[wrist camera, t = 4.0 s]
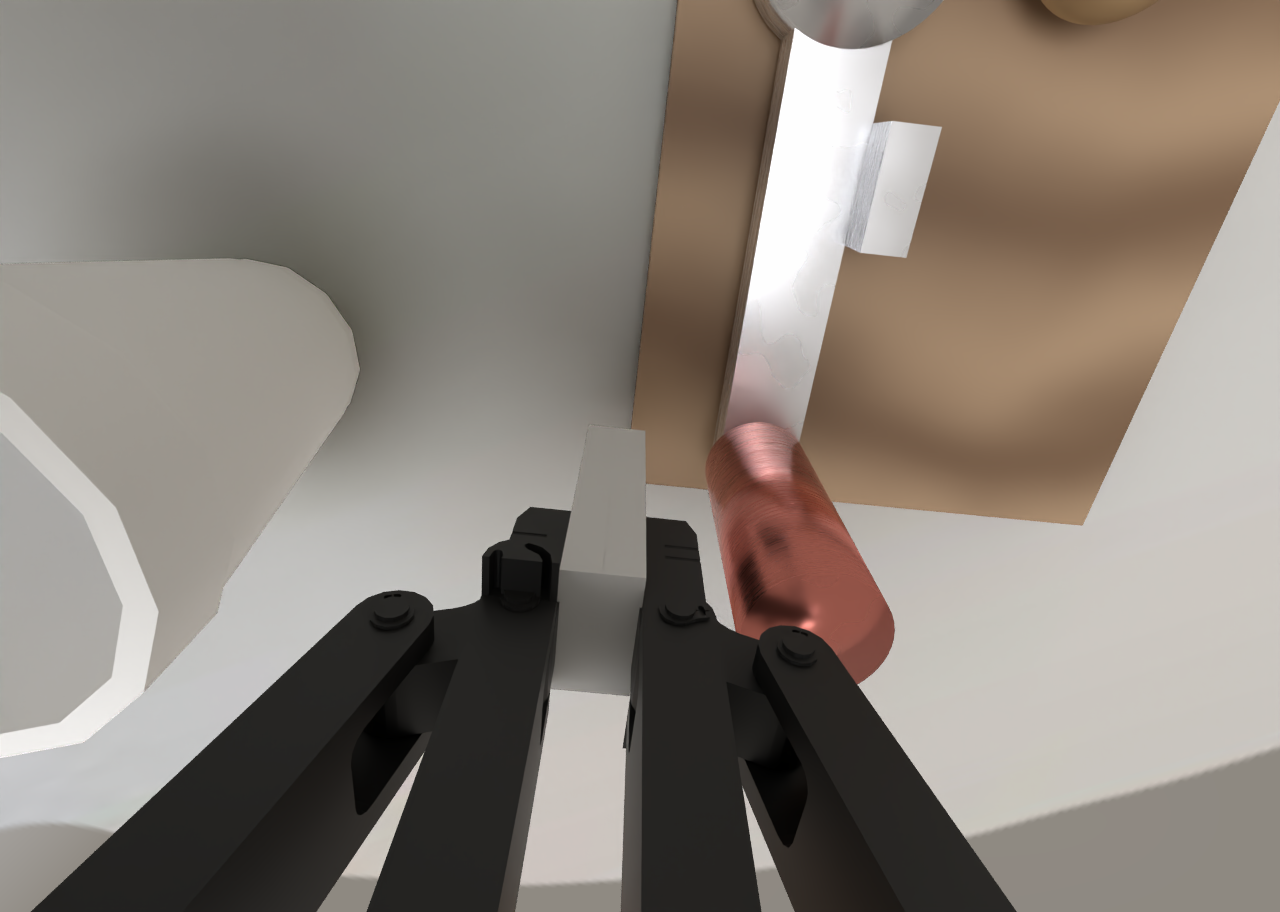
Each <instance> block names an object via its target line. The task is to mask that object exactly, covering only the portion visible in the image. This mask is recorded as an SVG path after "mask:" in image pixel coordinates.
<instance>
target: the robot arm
mask: <svg viewBox="0 0 1280 912" xmlns="http://www.w3.org/2000/svg"><path fill="white" fill-rule="evenodd" d="M550 688H551V689H557V690H568V691H579V692H590V693H601V694H612V695H623V696H629V695H630V702H629V709H628V716H627V722H626V729H625V736H624V743H623V748H626V768H625V799H624V830H623V861H622V893H621V912H761V906H760V900H759V893H758V887H757V880H756V873H755V867H754V860H753V854H752V847H751V841H750V834H749V828H748V821H747V815H746V808H745V802H744V795H743V789H744V791H745V793H746V796H747V798H748V801H749V803H750V805H751V808H752V810H753V813H754V815H755V817H756V820H757V822H758V825H759V827H760V829H761V832H762V834H763V837H764V839H765V841H766V844H767V846H768V849H769V851H770V853H771V856H772V858H773V861H774V863H775V865H776V868H777V870H778V873H779V875H780V877H781V880H782V882H783V884H784V887H785V889H786V892H787V894H788V897H789V899H790V901H791V904H792V906H793V908H794V911H795V912H1016V910H1015V909H1014V907H1013V906H1012V905H1011V903H1010V902H1009V900H1008V899H1007V897H1006V896H1005V895H1004V893H1003V892H1002V890H1001V889H1000V887H999V886H998V885H997V883H996V882H995V881H994V879H993V878H992V876H991V875H990V873H989V872H988V870H987V869H986V867H985V866H984V865H983V863H982V862H981V860H980V859H979V857H978V856H977V855H976V853H975V852H974V850H973V849H972V848H971V846H970V845H969V843H968V842H967V840H966V839H965V837H964V836H963V835H962V833H961V832H960V830H959V829H958V828H957V826H956V825H955V823H954V822H953V820H952V819H951V818H950V816H949V815H948V813H947V812H946V810H945V809H944V808H943V806H942V805H941V803H940V802H939V800H938V799H937V798H936V796H935V795H934V793H933V792H932V790H931V789H930V788H929V786H928V785H927V783H926V782H925V781H924V779H923V778H922V776H921V775H920V773H919V772H918V771H917V769H916V768H915V766H914V765H913V763H912V762H911V761H910V759H909V758H908V756H907V755H906V753H905V752H904V751H903V749H902V748H901V746H900V745H899V743H898V742H897V741H896V739H895V738H894V736H893V735H892V733H891V732H890V731H889V729H888V728H887V726H886V725H885V724H884V722H883V721H882V719H881V718H880V716H879V715H878V714H877V712H876V711H875V709H874V708H873V706H872V705H871V704H870V702H869V701H868V699H867V698H866V696H865V695H864V694H863V692H862V691H861V689H860V688H859V686H858V685H857V684H856V682H855V681H854V679H853V678H852V677H851V675H850V674H849V672H848V671H847V669H846V668H845V667H844V665H843V664H842V662H841V661H840V659H839V658H838V657H837V655H836V654H835V652H834V651H833V649H832V648H831V647H830V646H829V645H828V644H827V643H826V642H825V641H824V640H823V639H822V638H821V637H819V636H817V635H816V634H814V633H812V632H810V631H809V630H805V629H802V628H799V627H796V626H786V625H779V626H775V627H770V628H768V629H767V630H765V631H764V632H763V633H762V634H761V635H760V638H759V640H758V639H755V638H752V637H749V636H745V635H742V634H740V633H737V632H735V631H732V630H730V629H728V628H727V627H725V626H723V625H722V624H720V623H719V622H718V621H717V619H716V616H715V613H714V611H713V609H712V607H711V606H710V605H708V604H707V603H706V599H705V592H704V584H703V577H702V570H701V563H700V556H699V551H698V542H697V535H696V533H695V532H694V531H693V530H692V528H691V527H690V526H689V525H688V523H687V522H686V521H678V520H668V519H659V518H649V517H646V455H645V431H643V430H634V429H625V428H616V427H606V426H597V425H589V427H588V431H587V436H586V441H585V446H584V451H583V456H582V461H581V466H580V471H579V476H578V481H577V486H576V491H575V496H574V500H573V505H572V510H571V511H565V510H555V509H545V508H535V507H530V508H529V509H527V510H526V511H525V512H524V513H523V514H521V515H520V516H519V517H518V518H517V520H516V523H515V526H514V528H513V532H512V534H511V537H510V540H506V541H502V542H499V543H497V544H495V545H493V546H491V547H489V548H488V549H487V551H486V552H485V553H484V554H483V556H482V596H481V598H480V600H478V601H476V602H475V603H472V604H469V605H466V606H463V607H458V608H453V609H445V610H437V611H433V605H432V604H431V602H430V601H429V600H428V599H427V598H426V597H424V596H422V595H420V594H417V593H415V592H409V591H401V590H398V591H389V592H383V593H380V594H377V595H374V596H371V597H368V598H367V599H365V600H364V601H363V602H361V603H360V604H358V605H357V606H356V607H355V608H353V609H352V610H351V611H350V612H349V613H348V614H347V615H346V616H345V617H344V618H343V619H342V620H341V621H340V622H339V623H337V624H336V625H335V626H334V627H333V628H332V629H331V630H330V631H329V632H328V633H327V634H326V635H325V636H324V637H323V638H322V639H320V640H319V641H318V642H317V643H316V644H315V645H314V646H313V647H312V648H311V649H310V650H309V651H308V652H307V653H306V654H305V655H303V656H302V657H301V658H300V659H299V660H298V661H297V662H296V663H295V664H294V665H293V666H292V667H291V668H290V669H289V670H287V671H286V672H285V673H284V674H283V675H282V676H281V677H280V678H279V679H278V680H277V681H276V682H275V683H274V684H273V685H272V686H270V687H269V688H268V689H267V690H266V691H265V692H264V693H263V694H262V695H261V696H260V697H259V698H258V699H257V700H256V701H255V702H253V703H252V704H251V705H250V706H249V707H248V708H247V709H246V710H245V711H244V712H243V713H242V714H241V715H240V716H239V717H237V718H236V719H235V720H234V721H233V722H232V723H231V724H230V725H229V726H228V727H227V728H226V729H225V730H224V731H223V732H222V733H220V734H219V735H218V736H217V737H216V738H215V739H214V740H213V741H212V742H211V743H210V744H209V745H208V746H207V747H206V748H205V749H203V750H202V751H201V752H200V753H199V754H198V755H197V756H196V757H195V758H194V759H193V760H192V761H191V762H190V763H189V764H187V765H186V766H185V767H184V768H183V769H182V770H181V771H180V772H179V773H178V774H177V775H176V776H175V777H174V778H173V779H172V780H170V781H169V782H168V783H167V784H166V785H165V786H164V787H163V788H162V789H161V790H160V791H159V792H158V793H157V794H156V795H155V796H153V797H152V798H151V799H150V800H149V801H148V802H147V803H146V804H145V805H144V806H143V807H142V808H141V809H140V810H139V811H137V812H136V813H135V814H134V815H133V816H132V817H131V818H130V819H129V820H128V821H127V822H126V823H125V824H124V825H123V826H122V827H120V828H119V829H118V830H117V831H116V832H115V833H114V834H113V835H112V836H111V837H110V838H109V839H108V840H107V841H106V842H105V843H103V844H102V845H101V846H100V847H99V848H98V849H97V850H96V851H95V852H94V853H93V854H92V855H91V856H90V857H89V858H87V859H86V860H85V862H83V863H82V864H81V865H80V866H79V867H78V868H77V869H76V870H75V871H74V872H73V873H72V874H70V875H69V876H68V877H67V878H66V879H65V880H64V881H63V882H62V883H61V884H60V885H59V886H58V887H57V888H56V889H54V891H52V892H51V893H50V894H49V895H48V896H47V897H46V898H45V899H44V900H43V901H42V902H41V903H40V904H39V905H37V906H36V907H35V908H34V909H33V910H32V911H31V912H316V911H317V910H318V908H319V907H320V905H321V904H322V902H323V901H324V900H325V898H326V897H327V895H328V893H329V892H330V891H331V889H332V888H333V886H334V885H335V883H336V882H337V880H338V879H339V877H340V876H341V874H342V873H343V871H344V870H345V868H346V867H347V865H348V864H349V863H350V861H351V860H352V858H353V857H354V855H355V854H356V852H357V851H358V849H359V848H360V846H361V845H362V843H363V842H364V840H365V839H366V837H367V836H368V834H369V833H370V831H371V830H372V828H373V827H374V825H375V824H376V823H377V821H378V820H379V818H380V817H381V815H382V814H383V812H384V811H385V809H386V808H387V806H388V805H389V803H390V802H391V800H392V799H393V797H394V796H395V794H396V793H397V791H398V790H399V788H400V787H401V786H402V784H403V783H404V781H405V780H406V778H407V777H408V775H409V774H410V772H411V771H412V769H413V768H414V766H415V765H416V763H417V762H418V760H419V759H420V757H421V756H422V754H423V753H424V755H423V758H422V761H421V763H420V766H419V769H418V772H417V775H416V777H415V780H414V783H413V786H412V788H411V791H410V794H409V797H408V799H407V802H406V805H405V808H404V810H403V813H402V816H401V819H400V821H399V824H398V827H397V830H396V832H395V835H394V838H393V841H392V843H391V846H390V849H389V852H388V854H387V857H386V860H385V863H384V865H383V868H382V871H381V874H380V876H379V879H378V882H377V885H376V887H375V890H374V893H373V896H372V898H371V901H370V904H369V907H368V909H367V912H515V909H516V903H517V897H518V891H519V885H520V879H521V873H522V867H523V861H524V855H525V849H526V843H527V837H528V831H529V825H530V819H531V813H532V807H533V801H534V795H535V789H536V783H537V777H538V771H539V765H540V759H541V753H542V747H543V741H544V735H545V729H546V723H547V717H548V711H549V698H550ZM424 751H425V752H424ZM742 786H743V789H742Z"/></svg>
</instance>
